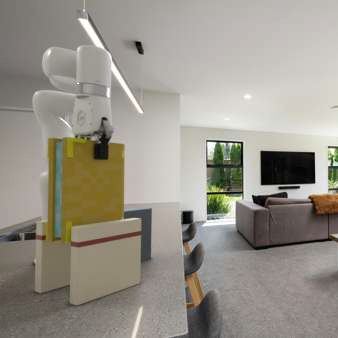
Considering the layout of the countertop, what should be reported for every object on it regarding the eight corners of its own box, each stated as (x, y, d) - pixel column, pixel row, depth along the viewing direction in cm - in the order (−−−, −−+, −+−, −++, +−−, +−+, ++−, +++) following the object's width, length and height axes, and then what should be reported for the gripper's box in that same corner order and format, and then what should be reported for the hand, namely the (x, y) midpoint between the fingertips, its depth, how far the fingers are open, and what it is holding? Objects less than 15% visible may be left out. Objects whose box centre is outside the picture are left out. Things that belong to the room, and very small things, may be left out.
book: (67, 242, 68) (68, 137, 69) (45, 241, 70) (47, 138, 70) (129, 229, 84) (130, 144, 85) (111, 228, 86) (112, 145, 87)
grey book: (103, 269, 91) (104, 212, 91) (145, 257, 104) (146, 207, 104) (108, 270, 90) (110, 213, 90) (151, 258, 103) (151, 208, 103)
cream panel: (69, 303, 68) (70, 226, 68) (133, 281, 81) (134, 217, 82) (76, 305, 66) (78, 227, 67) (140, 283, 80) (141, 218, 80)
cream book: (34, 291, 74) (35, 221, 74) (99, 272, 88) (100, 213, 88) (40, 293, 73) (42, 222, 73) (105, 274, 87) (106, 214, 87)
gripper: (59, 93, 78) (57, 159, 78) (97, 86, 71) (96, 158, 71) (90, 100, 85) (89, 160, 84) (128, 94, 78) (127, 160, 77)
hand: (92, 159), depth 77 cm, fingers closed on book, 7 cm apart
